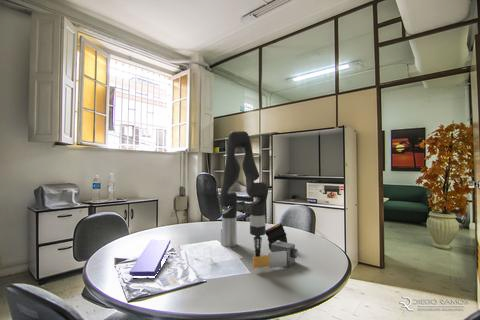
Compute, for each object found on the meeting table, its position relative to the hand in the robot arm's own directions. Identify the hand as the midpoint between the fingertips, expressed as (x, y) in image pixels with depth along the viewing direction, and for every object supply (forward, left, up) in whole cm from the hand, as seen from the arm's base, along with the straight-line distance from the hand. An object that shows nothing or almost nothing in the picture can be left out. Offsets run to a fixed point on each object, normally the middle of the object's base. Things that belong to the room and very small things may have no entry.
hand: (257, 260), depth 112 cm
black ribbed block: (-6, +30, -4) cm, 31 cm away
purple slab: (-44, -28, -5) cm, 52 cm away
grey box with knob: (+7, +14, -4) cm, 17 cm away
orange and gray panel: (+6, +3, -4) cm, 8 cm away
